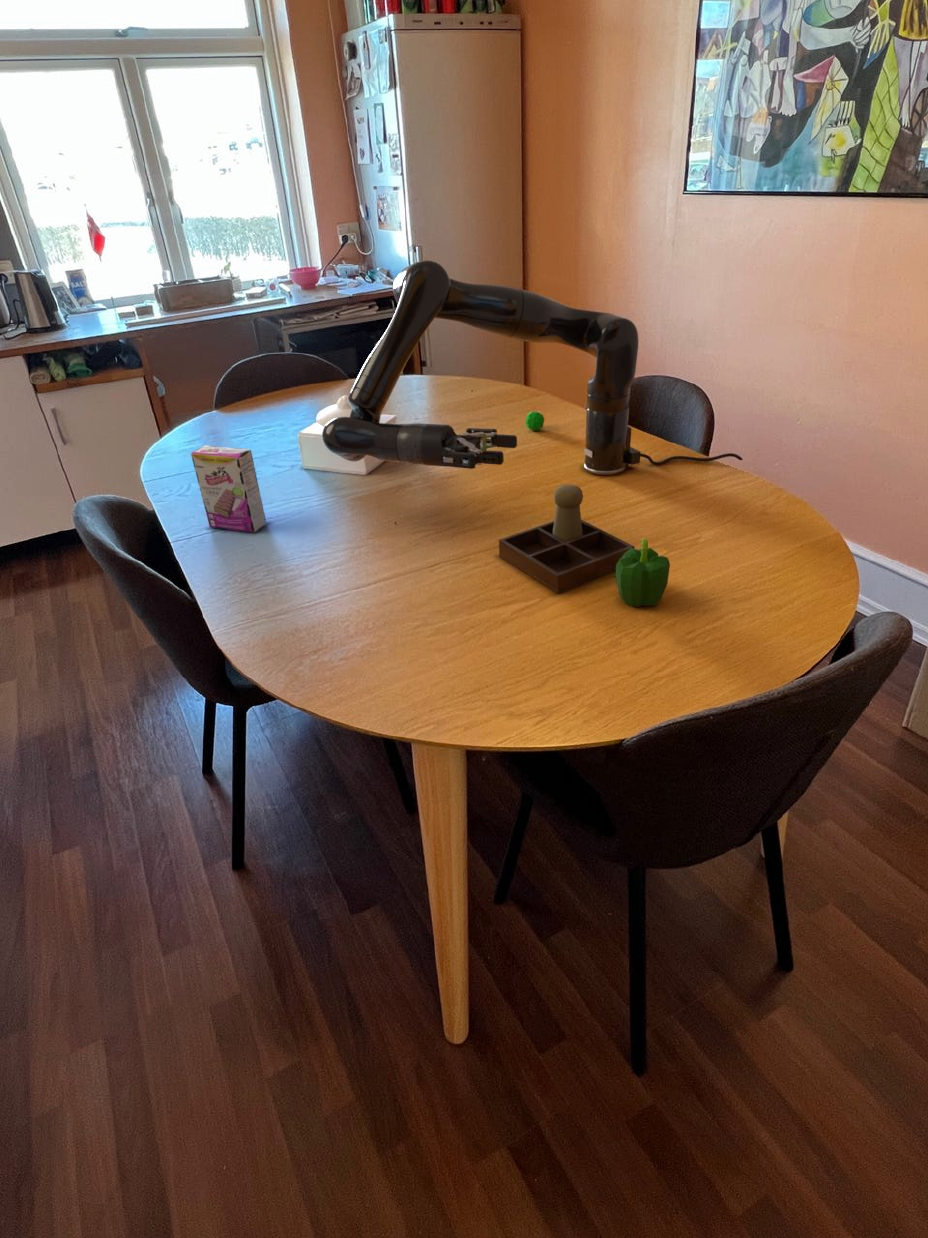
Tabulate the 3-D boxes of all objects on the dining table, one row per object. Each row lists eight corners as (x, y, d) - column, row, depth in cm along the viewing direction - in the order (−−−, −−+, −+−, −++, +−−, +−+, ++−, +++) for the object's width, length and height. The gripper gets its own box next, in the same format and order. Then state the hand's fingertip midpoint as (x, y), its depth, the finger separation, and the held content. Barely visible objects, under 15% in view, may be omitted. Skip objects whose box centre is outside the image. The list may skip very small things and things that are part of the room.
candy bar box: (208, 529, 154) (188, 452, 145) (222, 519, 158) (204, 444, 149) (254, 534, 151) (237, 456, 142) (268, 524, 155) (251, 447, 146)
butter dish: (302, 468, 181) (291, 403, 173) (340, 444, 195) (331, 382, 187) (366, 475, 175) (357, 408, 167) (399, 449, 189) (393, 386, 181)
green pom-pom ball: (547, 428, 197) (547, 410, 195) (538, 433, 194) (538, 415, 191) (530, 425, 200) (530, 408, 197) (522, 431, 196) (521, 413, 194)
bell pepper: (656, 618, 117) (661, 562, 111) (607, 606, 120) (610, 551, 115) (673, 594, 122) (680, 539, 117) (626, 583, 126) (630, 529, 121)
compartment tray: (571, 531, 144) (571, 514, 142) (633, 563, 132) (634, 546, 130) (499, 556, 137) (498, 539, 135) (557, 593, 125) (558, 575, 123)
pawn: (582, 550, 136) (584, 494, 130) (549, 549, 137) (550, 493, 131) (584, 536, 141) (586, 481, 135) (552, 534, 142) (553, 480, 136)
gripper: (409, 437, 130) (497, 442, 125) (438, 412, 142) (520, 416, 137) (413, 477, 134) (499, 484, 129) (441, 450, 146) (521, 455, 141)
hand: (509, 449), depth 133 cm, fingers open, 8 cm apart
